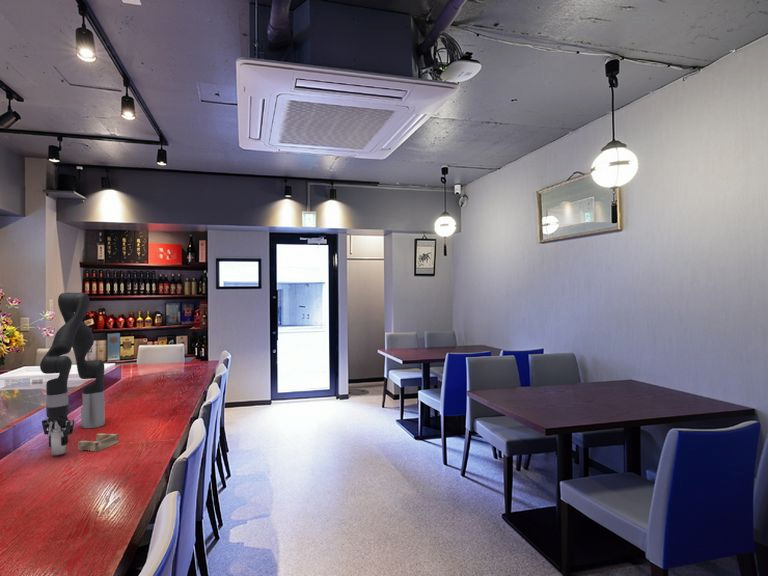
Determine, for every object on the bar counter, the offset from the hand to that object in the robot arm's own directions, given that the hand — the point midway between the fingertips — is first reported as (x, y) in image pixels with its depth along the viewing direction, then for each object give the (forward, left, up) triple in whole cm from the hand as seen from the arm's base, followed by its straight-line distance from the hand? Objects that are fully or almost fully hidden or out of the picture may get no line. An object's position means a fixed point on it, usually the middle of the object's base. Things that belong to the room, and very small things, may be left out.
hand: (58, 444), depth 186 cm
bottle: (0, 0, -3) cm, 3 cm away
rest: (+8, +12, -5) cm, 15 cm away
